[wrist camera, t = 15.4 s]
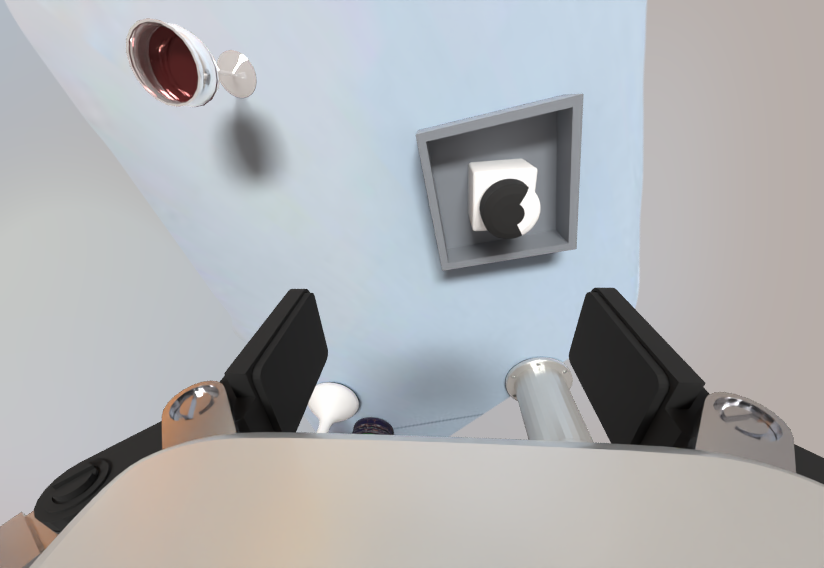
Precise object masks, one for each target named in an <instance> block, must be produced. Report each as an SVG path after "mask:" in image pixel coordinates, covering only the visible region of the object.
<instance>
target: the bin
mask: <svg viewBox="0 0 824 568" xmlns="http://www.w3.org/2000/svg"><path fill="white" fill-rule="evenodd" d="M582 113H583V94H570V95H561V96H556V97H552V98H548V99H544V100H540V101H536V102H532V103H528V104H524V105H520V106H516V107H511V108H507V109H503V110H499V111H495V112H491V113H487V114H483V115H479V116H475V117H471V118H466V119H462V120H458V121H454V122H450V123H446V124H442V125H438V126H434V127H430V128H426V129H421V130H418V132H417V133H416V139H417V144H418V149H419V154H420V159H421V164H422V170H423V175H424V180H425V185H426V190H427V195H428V200H429V205H430V210H431V215H432V220H433V225H434V231H435V236H436V241H437V246H438V251H439V256H440V261H441V266H442V271H444V270H450V269H457V268H463V267H469V266H475V265H481V264H487V263H493V262H500V261H506V260H512V259H518V258H524V257H530V256H536V255H542V254H549V253H555V252H561V251H567V250H573V249H576V247H577V225H578V202H579V180H580V158H581V135H582ZM508 159H524V160H525V161H526V162H528V163H529V164H531V165H532V166H534V167H535V168H537V179H536V188H535V193H536V195H537V196H538V198H539V201H540V215H539V218H538V220H537V222H536V223H535V225H534V226H533V227H532V229H531V230H530V231H528V232H527V233H526V234H524V235H522V236H520V237H517V238H514V239H501V238H498V237H495V236H493V235H492V234H491V233H489V231H488V230H486V231H474V230H473V229H472V225H471V222H470V218H469V214H468V165H469V163H471V162H482V161H495V160H508Z"/></svg>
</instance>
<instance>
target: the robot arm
mask: <svg viewBox="0 0 824 568" xmlns="http://www.w3.org/2000/svg"><path fill="white" fill-rule="evenodd" d="M327 357H328V349H327V345H326V341H325V336H324V332H323V328H322V324H321V320H320V316H319V312H318V308H317V304H316V300H315V296H314V294H313V293H310V292H309V290H308V289H290V290H289V291H288V292H287V294H286V295H285V296H284V297H283V299H282V300H281V301H280V303H279V304H278V305H277V306H276V308H275V309H274V310H273V312H272V313H271V314H270V315H269V317H268V318H267V319H266V321H265V322H264V323H263V324H262V326H261V327H260V328H259V330H258V331H257V332H256V333H255V335H254V336H253V337H252V338H251V340H250V341H249V342H248V344H247V345H246V346H245V347H244V349H243V350H242V351H241V353H240V354H239V355H238V356H237V358H236V359H235V360H234V362H233V363H232V364H231V365H230V367H229V368H228V369H227V371H226V372H225V376H224V377H223V378H222V380H221V381H220V382H217V381H204V382H200V383H197V384H194V385H192V386H190V387H188V388H186V389H184V390H182V391H181V392H179V393H178V394H177V395H175V396H174V397H173V398H172V399H171V400H170V401H169V402H168V404H167V405H166V407H165V408H164V410H163V414H162V421H161V422H159V423H157V424H155V425H153V426H151V427H149V428H147V429H145V430H143V431H141V432H139V433H137V434H135V435H133V436H131V437H129V438H127V439H126V440H123V441H122V442H119V443H117V444H116V445H113V446H112V447H110V448H108V449H106V450H104V451H102V452H100V453H98V454H96V455H94V456H92V457H90V458H88V459H86V460H84V461H82V462H80V463H78V464H77V465H75V466H74V467H72V468H70V469H68V470H67V471H66V472H64V473H63V474H62V475H61V476H59V477H58V478H57V479H55V480H54V481H53V483H51V484H50V486H48V488H46V489H45V491H44V492H43V493H42V495H41V496H40V498H39V499H38V501H37V503H36V506H35V508H34V511H32V512H31V513H29V514H28V515H25V514H24V513H22V512H21V513H19V514H18V515H16V516H15V517H13V518H12V519H10V520H9V521H8V522H6V523H5V524H3V525H2V526H0V568H824V458H822V457H820V456H818V455H816V454H814V453H812V452H810V451H807V450H805V449H803V448H801V447H799V446H797V445H795V444H794V438H793V435H792V432H791V430H790V428H789V427H788V426H787V425H786V423H785V422H784V421H783V420H782V419H780V418H779V417H778V416H777V415H776V414H775V413H774V412H772V411H770V410H769V409H767V408H766V407H764V406H763V405H761V404H759V403H757V402H754V401H752V400H750V399H748V398H746V397H742V396H739V395H736V394H732V393H726V392H715V393H712V394H709V393H708V392H707V391H706V390H705V389H704V387H703V386H704V385H705V382H704V381H703V380H702V379H701V378H700V377H699V376H698V375H697V374H696V373H695V372H694V371H693V369H692V368H691V367H690V366H689V365H688V364H687V363H686V362H685V361H684V360H683V359H682V358H681V357H680V356H679V355H678V354H677V353H676V352H675V351H674V350H673V348H672V347H671V346H670V345H669V344H667V342H666V341H665V340H664V339H663V338H662V337H661V336H660V335H659V334H658V333H657V332H656V331H655V330H654V329H653V328H652V326H651V325H649V323H648V322H647V321H646V320H645V319H644V318H643V317H642V316H641V315H640V314H639V313H638V312H637V311H636V310H635V309H634V308H633V307H632V305H631V304H630V303H629V302H628V301H627V300H626V299H625V298H624V297H623V296H622V295H621V294H620V293H619V292H618V291H617V290H616V289H615V288H594V289H593V290H592V291H591V292H588V293H587V294H586V296H585V299H584V303H583V306H582V310H581V313H580V317H579V320H578V324H577V327H576V331H575V334H574V338H573V341H572V345H571V348H570V352H569V360H570V363H571V365H572V367H573V369H574V371H575V373H576V375H577V377H578V379H579V381H580V383H581V385H582V387H583V389H584V391H585V393H586V395H587V397H588V399H589V401H590V402H591V404H592V406H593V408H594V410H595V412H596V414H597V416H598V418H599V420H600V422H601V424H602V426H603V428H604V430H605V432H606V434H607V436H608V438H609V440H610V442H611V444H609V443H594V442H593V440H592V438H591V436H590V434H589V431H588V429H587V427H586V425H585V423H584V421H583V418H582V416H581V414H580V412H579V410H578V408H577V405H576V403H575V401H574V399H573V397H572V395H571V392H570V390H569V389H570V388H571V386H572V382H573V378H572V375H571V372H570V370H569V368H568V367H567V366H566V365H565V364H564V363H562V362H561V361H559V360H556V359H553V358H546V357H539V358H532V359H528V360H525V361H523V362H521V363H519V364H517V365H516V366H514V367H513V368H512V369H511V370H510V371H509V373H508V374H507V377H506V383H505V384H506V388H507V391H508V393H509V395H510V396H511V397H512V398H514V399H515V400H517V401H518V402H519V406H520V409H521V413H522V417H523V420H524V424H525V428H526V431H527V435H528V439H529V440H517V439H490V438H462V437H436V436H407V435H375V434H342V433H296V431H297V428H298V426H299V424H300V421H301V419H302V417H303V414H304V412H305V410H306V407H307V405H308V403H309V400H310V398H311V396H312V393H313V391H314V388H315V386H316V384H317V381H318V379H319V377H320V374H321V372H322V370H323V367H324V365H325V363H326V360H327Z"/></svg>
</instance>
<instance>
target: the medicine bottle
mask: <svg viewBox="0 0 824 568" xmlns="http://www.w3.org/2000/svg"><path fill="white" fill-rule="evenodd" d="M536 179H537V168H535V167H534V166H532V165H531V164H529V163H528V162H526V161H525V160H524V159H508V160H495V161H482V162H471V163H469V165H468V214H469V218H470V222H471V225H472V229H473V230H474V231H486V230H488V231H489V233H491V234H492V235H493V236H495V237H498V238H501V239H514V238H517V237H520V236H522V235H524V234H526V233H527V232H528V231H530V230H531V229H532V227H533V226H534V225H535V223H536V222H537V220H538V218H539V215H540V201H539V198H538V196H537V195H536V193H535V188H536Z"/></svg>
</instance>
